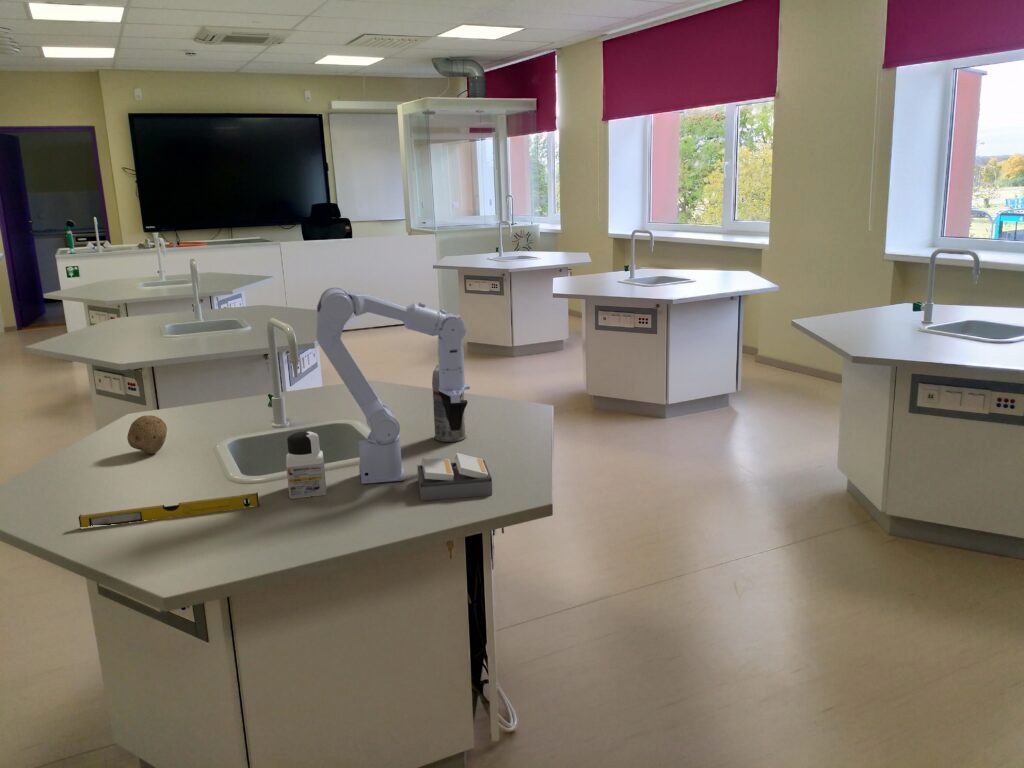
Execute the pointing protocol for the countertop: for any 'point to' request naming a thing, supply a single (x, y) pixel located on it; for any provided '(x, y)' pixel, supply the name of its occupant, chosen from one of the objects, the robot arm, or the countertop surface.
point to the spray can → (444, 415)
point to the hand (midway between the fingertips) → (453, 425)
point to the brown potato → (147, 434)
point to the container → (305, 466)
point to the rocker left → (437, 469)
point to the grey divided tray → (453, 485)
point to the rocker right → (470, 466)
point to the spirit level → (169, 510)
